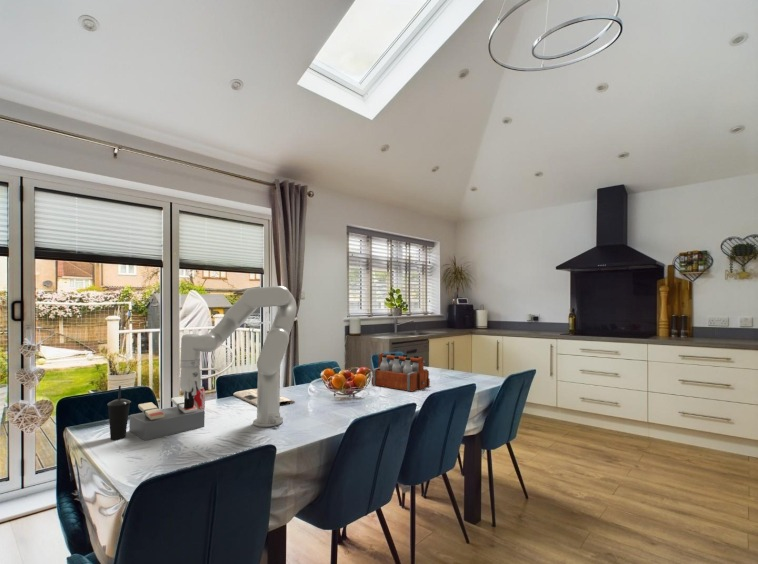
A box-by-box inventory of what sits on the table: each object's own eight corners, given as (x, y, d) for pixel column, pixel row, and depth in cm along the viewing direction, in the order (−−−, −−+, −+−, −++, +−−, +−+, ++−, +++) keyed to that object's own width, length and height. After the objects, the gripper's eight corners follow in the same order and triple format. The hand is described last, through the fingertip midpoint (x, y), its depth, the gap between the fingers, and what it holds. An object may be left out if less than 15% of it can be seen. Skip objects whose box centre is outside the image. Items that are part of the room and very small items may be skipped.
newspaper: (233, 396, 226) (233, 391, 226) (265, 391, 238) (265, 386, 238) (262, 410, 198) (262, 404, 198) (297, 403, 211) (297, 398, 211)
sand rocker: (164, 417, 160) (164, 413, 160) (150, 420, 157) (151, 416, 157) (151, 405, 170) (151, 401, 170) (138, 407, 166) (138, 403, 166)
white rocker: (196, 411, 170) (197, 407, 170) (184, 414, 167) (185, 410, 166) (182, 399, 179) (183, 395, 179) (171, 401, 176) (171, 397, 175)
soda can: (198, 415, 187) (199, 389, 187) (184, 414, 188) (185, 388, 188) (207, 411, 193) (208, 386, 194) (194, 410, 195) (195, 385, 195)
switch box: (204, 426, 171) (204, 408, 171) (144, 440, 153) (145, 420, 154) (181, 416, 185) (181, 399, 186) (124, 428, 168) (125, 409, 168)
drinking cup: (112, 442, 151) (114, 388, 152) (102, 439, 155) (104, 386, 156) (133, 437, 158) (135, 385, 158) (123, 433, 162) (125, 383, 163)
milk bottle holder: (414, 392, 235) (414, 359, 236) (368, 385, 257) (368, 354, 258) (433, 386, 252) (433, 355, 253) (387, 379, 273) (388, 351, 274)
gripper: (207, 364, 168) (205, 409, 167) (191, 360, 178) (189, 403, 177) (189, 366, 162) (187, 413, 161) (173, 362, 172) (171, 406, 171)
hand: (188, 407), depth 169 cm, fingers closed
